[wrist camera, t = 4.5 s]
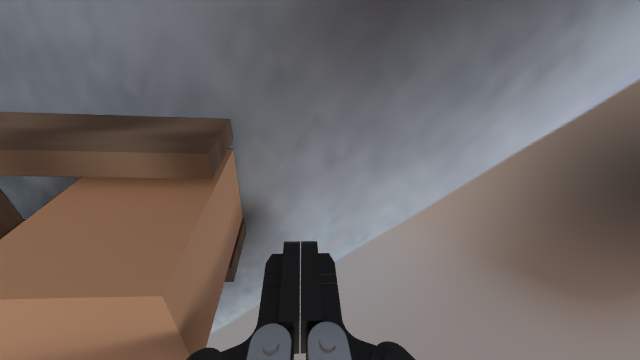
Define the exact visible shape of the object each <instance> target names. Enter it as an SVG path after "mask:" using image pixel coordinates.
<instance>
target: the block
mask: <svg viewBox="0 0 640 360" xmlns="http://www.w3.org/2000/svg"><path fill="white" fill-rule="evenodd" d="M242 218H243V214H242V207H241V200H240V193H239V186H238V179H237V172H236V164H235V157H234V150H233V149H228V150H227V152H226V154H225V156H224V158H223V160H222V162H221V164H220V166H219V167H218V169H217V171H216V173H215V175H214V177H213V179H203V178H130V177H81V178H80V179H79V180H77V181H76V182H75V183H73V184H72V185H71V186H70V187H68V188H67V189H66V190H64V191H63V192H62V193H60V194H59V195H58V196H57V197H55V198H54V199H53V200H51V201H50V202H49V203H47V204H46V205H45V206H44V207H42V208H41V209H40V210H38V211H37V212H36V213H34V214H33V215H32V216H30V217H29V218H28V219H27V220H25V221H24V222H23V223H21V224H20V225H19V226H17V227H16V228H15V229H14V230H12V231H11V232H10V233H8V234H7V235H6V236H4V237H3V238H2V239H0V360H186V359H187V358H188V357H189V356H190V355H191V354H193V353H194V352H196V351H198V350H200V349H203V348H206V345H207V341H208V338H209V334H210V331H211V327H212V324H213V320H214V316H215V313H216V309H217V306H218V302H219V299H220V295H221V292H222V288H223V285H224V281H225V278H226V274H227V271H228V267H229V264H230V260H231V256H232V253H233V249H234V246H235V242H236V239H237V235H238V232H239V228H240V225H241V221H242Z"/></svg>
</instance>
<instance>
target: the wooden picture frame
mask: <svg viewBox="0 0 640 360" xmlns="http://www.w3.org/2000/svg"><path fill="white" fill-rule="evenodd" d="M232 141H233V136H232V129H231V122H230V119H208V118H176V117H144V116H113V115H81V114H49V113H17V112H0V176H57V177H130V178H203V179H213V177H214V175H215V173H216V171H217V169H218V167H219V166H220V164H221V162H222V160H223V158H224V156H225V154H226V152H227V150H228V148H229V146H230V145H231V143H232ZM24 221H25V220H23V219H22V217H21V216H20V215H19V213H18V212H17V211H16V209H15V208H14V207H13V206H12V204H11V203H10V202H9V200H8V199H7V198H6V196H5V195H4V194H3V192H2V191H1V190H0V239H2V238H3V237H4V236H6V235H7V234H8V233H10V232H11V231H12V230H14V229H15V228H16V227H17V226H19V225H20V224H21V223H23V222H24ZM245 234H246V229H245V222H244V220H242V221H241V225H240V228H239V232H238V235H237V239H236V242H235V246H234V249H233V253H232V256H231V260H230V264H229V267H228V271H227V274H226V278H225V281H224V282H234V279H235V275H236V271H237V267H238V263H239V259H240V254H241V250H242V246H243V242H244V238H245Z"/></svg>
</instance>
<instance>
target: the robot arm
mask: <svg viewBox="0 0 640 360" xmlns="http://www.w3.org/2000/svg"><path fill="white" fill-rule="evenodd" d="M299 311H300V242H284V249H283V254H272V255H271V256H270V258H269V260H268V261H267V263H266V266H265V274H264V281H263V288H262V295H261V302H260V309H259V317H258V323H257V326H256V329H255V330H254V332H253V334H252V335H251V336H250V337H249V338H248V339H247V340H246V341H245V342H243V343H242V344H240V345H238V346H235V347H233V348H230V349H228V350H225V351H223V352H220V351H218V350H217V349H215V348H203V349H200V350H198V351H196V352H194V353H193V354H191V355H190V356H189V357H188V358H187V359H186V360H294V354H298V353H299V320H300V319H299V316H300V313H299ZM301 353H306V360H415V359H414V358H413V357H412V356H411V355H410V354H409V353H408V352H407V351H406V350H405V349H404V348H403V347H401V346H400V345H398V344H396V343H394V342H382V343H380V344H378V345H377V346H376V345H373V344H370V343H366V342H364V341H361V340H358V339H356V338H354V337H353V336H352V335H351V334H350V333H349V332H348V331H347V330H346V328H345V326H344V324H343V322H342V316H341V308H340V300H339V293H338V285H337V278H336V270H335V263H334V261H333V259H332V258H331V256H330V254H329V253H318V246H317V241H302V242H301Z"/></svg>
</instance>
